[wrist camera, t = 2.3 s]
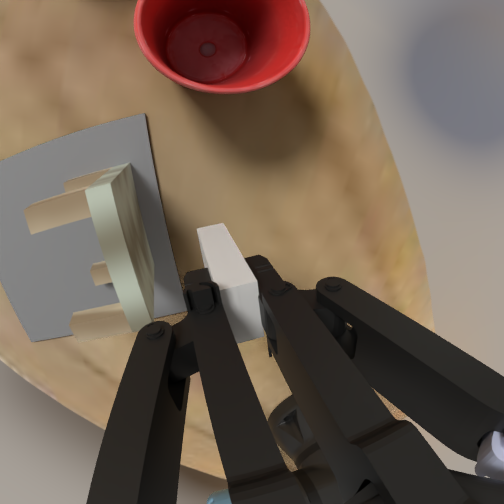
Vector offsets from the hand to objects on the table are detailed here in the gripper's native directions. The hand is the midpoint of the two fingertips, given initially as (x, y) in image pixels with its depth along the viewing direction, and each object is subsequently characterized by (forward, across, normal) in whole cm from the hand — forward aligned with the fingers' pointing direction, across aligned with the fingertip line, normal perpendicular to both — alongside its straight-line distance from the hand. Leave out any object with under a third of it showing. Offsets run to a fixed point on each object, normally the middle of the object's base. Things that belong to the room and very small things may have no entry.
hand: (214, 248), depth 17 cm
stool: (+11, +8, 0) cm, 14 cm away
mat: (+12, +13, +2) cm, 18 cm away
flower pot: (+12, -3, -14) cm, 18 cm away
